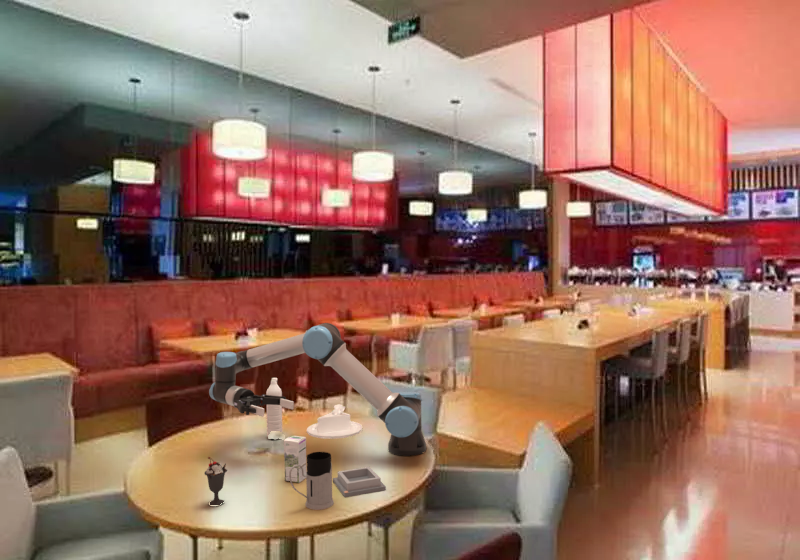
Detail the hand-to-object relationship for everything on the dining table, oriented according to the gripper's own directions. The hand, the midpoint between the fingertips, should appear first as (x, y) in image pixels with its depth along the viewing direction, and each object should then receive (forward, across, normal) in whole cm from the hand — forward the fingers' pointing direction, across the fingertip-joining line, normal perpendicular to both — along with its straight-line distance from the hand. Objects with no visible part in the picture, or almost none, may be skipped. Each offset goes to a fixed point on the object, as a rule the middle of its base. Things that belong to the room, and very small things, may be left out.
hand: (278, 409), depth 198 cm
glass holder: (+30, +12, -22) cm, 39 cm away
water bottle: (-32, -28, -24) cm, 49 cm away
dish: (-18, -50, -23) cm, 58 cm away
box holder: (+32, -8, -21) cm, 39 cm away
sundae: (+4, +28, -24) cm, 37 cm away
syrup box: (+10, 0, -23) cm, 25 cm away
